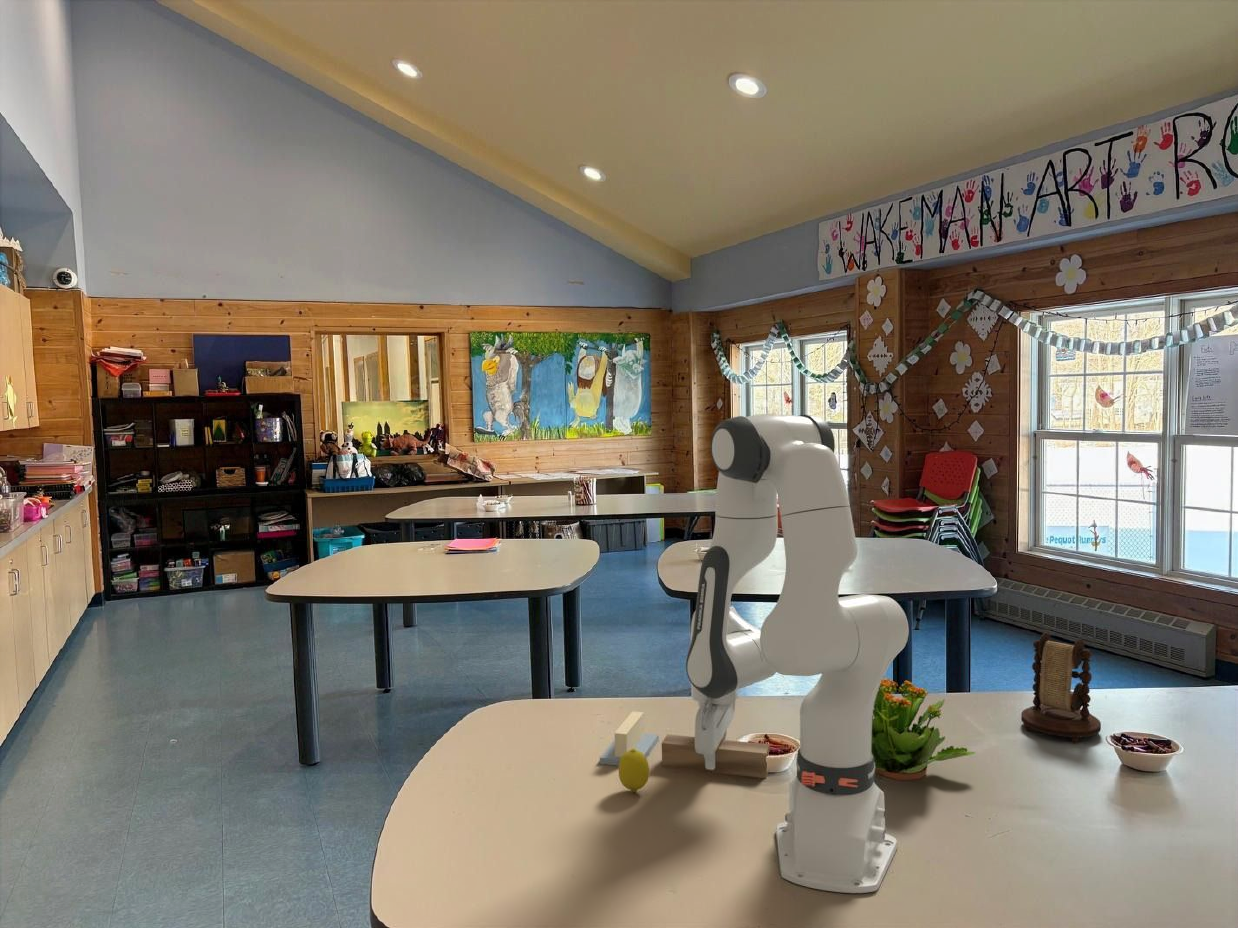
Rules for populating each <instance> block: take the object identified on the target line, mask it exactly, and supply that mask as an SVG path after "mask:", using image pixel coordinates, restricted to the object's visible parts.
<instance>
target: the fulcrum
mask: <svg viewBox="0 0 1238 928" xmlns="http://www.w3.org/2000/svg"><path fill="white" fill-rule="evenodd" d="M644 715H645V712H644V711H643V712H642V711H631V712H630V714H629V715H628V716H627V717H626V719H625V720H624V721H623V722H622V724H621V725H620V726H619V727H618V728H617V730H615V732H614V739H613V741H612V742H611V743H610V745H609V746H608V747H607V748H606V750H604V752H603V753H602V754H601V755H600V756H599V764H602V765H609V766H618V767H619V762H620V759H621V757H622V756H623V755H624V754H625V753H626V752H627V751H630V750H631V749H635V750H638V751H640V752H641V753H643V754H644V755H645V757H646V759H647V758H648V757H649V755H650V754H651V752H652V750H653V749H654V748H655V746H656V745H657V743H658V742H659V740H660V739H659V738H660V737H659V734H656V733H645V716H644Z"/></svg>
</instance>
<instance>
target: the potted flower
mask: <svg viewBox="0 0 1238 928" xmlns="http://www.w3.org/2000/svg"><path fill="white" fill-rule="evenodd" d="M903 682H904V683H902V684H901V685H900V686H899V685H898V683H897V682H896V681H893V680H892V679H891V680H890V679H889V678H888V677H886V678H884V677H883V679H882V682H881V684H880V687H879V690H878V693H877V696H876V699H875V703H874V709H873V718H872V748H871V753H872V754H873V756H874V763H875V772H877V773H878V774H879V775H881V776H883V777H885V778H889V779H893V780H897V781H898V780H899V781H910V780H919V779H920V778H922V777H924V776H925V775H926V773H927V769H928V765H929V764H930V763H933V762H935V761H938V762H941V761H947V760H951V759H957V758H961V757H965V756H969V755H970V756H971V755H975V754H976V752H975V751H968V749H967V748H966V747H955V748H954V745H950V746H949V747H946V748H941V750H940V751H937V754H936V755H934V752H935V751H936V749H937V747H938V746H939V745H940V744H942V743H943V742H944V741H945V738H946V736H942V737H940V735H941V734H940V729H939V727H936V728H935V726H932V727H929V724H930V723H931V720H934V719H935V718H938V719H941V717H940V716H941V715H942V712H941V711H942V709H941V708H942V707H943V705H944V704H945V701H946V699H945V698H944V699H942V700H939V701H937V702H936V703H933V704H929V705H928V707H927V709H926V710H925V712H923V715H919V717H918V720H917V723H913V721H914V720H915V718H916V717H917V715H918V712H919V710H920V707H921V705H922V704H923V703H924V701H925V699H926V696H928V694H929V693H930V691H928V690H927V689H925V688H923V687H917V686H914V684H913V683H912V682H910V681H909V680H904V681H903ZM898 686H899V687H898ZM897 687H898V688H897ZM897 689H898V692H899V693H900V695H901V696H902V698H900V697H899V698H896V697H895V695H893V694H894V693H893V692H895V693H896V692H897ZM927 720H928V722H927ZM925 722H927V723H926V725H924V726H922V725H923V724H924V723H925ZM911 726H912V727H911ZM921 726H922V727H921ZM910 727H911V729H910Z"/></svg>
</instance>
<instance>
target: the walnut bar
mask: <svg viewBox="0 0 1238 928" xmlns="http://www.w3.org/2000/svg"><path fill="white" fill-rule="evenodd" d="M770 751H771V748H770V744H768V743H760V742H759V743H757V742H747V741H738V740H728V739H725V740H721V742H720V744H719V746H718V748H717V749H716V752H715V758H716V767H715V769H714V770H709V769H706V767H705V758H704V755H703V754H699V753H696V751H695V736H688V735H687V736H686V735H678V734H666V736H665V737H664V738H663V741H661V767H662V768H668V769H669V768H670V769H679V770H688V771H699V772H707V773H715V774H725V775H733V776H743V777H753V778H761V779H767V778H768V774H769V772H767V762H766V757H767V756H768V755H769V752H770ZM770 753H771V752H770Z"/></svg>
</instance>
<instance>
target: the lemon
mask: <svg viewBox="0 0 1238 928" xmlns="http://www.w3.org/2000/svg"><path fill="white" fill-rule="evenodd" d="M649 777H650V766H649V761H648V759H647V758H646V757H645V755H644V754H643V753H641V752H640V751H638V750H635V749H631V750H630V751H627V752H626V753H625V754H624V755H623V756H622V757H621V759H620V762H619V766H618V778H619V781H620V783H621V785H623V787H625V788H626V789H628V790H629V791H631V792H632V793H636V792H637V791H639V790H641V789H642V788H643V787H645V785H646V784H647V783H648V780H649Z"/></svg>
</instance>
